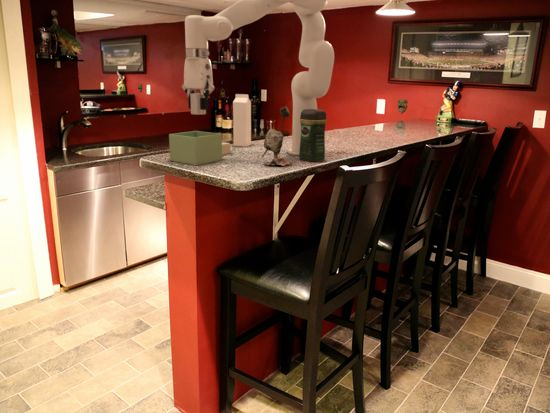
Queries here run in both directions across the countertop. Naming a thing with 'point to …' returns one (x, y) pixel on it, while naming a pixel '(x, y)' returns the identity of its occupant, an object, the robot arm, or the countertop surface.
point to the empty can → (196, 104)
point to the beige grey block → (225, 148)
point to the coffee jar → (312, 135)
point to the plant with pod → (276, 141)
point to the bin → (195, 147)
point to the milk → (242, 120)
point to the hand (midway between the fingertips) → (198, 108)
